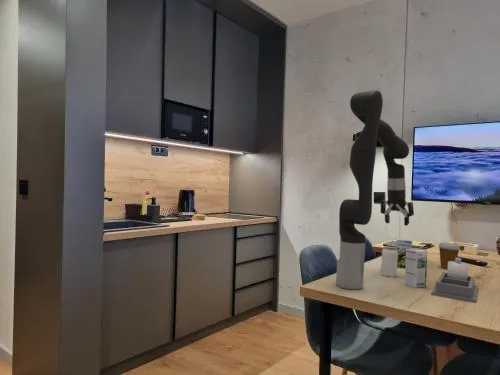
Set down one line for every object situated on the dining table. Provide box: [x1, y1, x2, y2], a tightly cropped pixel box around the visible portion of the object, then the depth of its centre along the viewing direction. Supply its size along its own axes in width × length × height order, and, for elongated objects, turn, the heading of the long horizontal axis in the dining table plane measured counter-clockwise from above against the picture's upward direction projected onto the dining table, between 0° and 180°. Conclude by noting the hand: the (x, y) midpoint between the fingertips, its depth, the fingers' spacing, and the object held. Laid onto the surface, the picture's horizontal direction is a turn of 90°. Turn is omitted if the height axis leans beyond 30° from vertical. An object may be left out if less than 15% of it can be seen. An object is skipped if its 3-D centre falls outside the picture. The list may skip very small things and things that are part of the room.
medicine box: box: [395, 239, 413, 251], centre depth 219 cm, size 8×4×9 cm, turn 81°
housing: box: [430, 257, 479, 304], centre depth 145 cm, size 24×14×12 cm, turn 147°
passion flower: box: [395, 247, 409, 269], centre depth 187 cm, size 11×11×12 cm
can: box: [380, 246, 398, 278], centre depth 166 cm, size 6×6×12 cm
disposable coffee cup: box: [438, 242, 461, 270], centre depth 187 cm, size 10×10×12 cm
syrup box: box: [404, 248, 428, 289], centre depth 151 cm, size 6×6×14 cm
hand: (396, 224), depth 169 cm, fingers open, 8 cm apart
